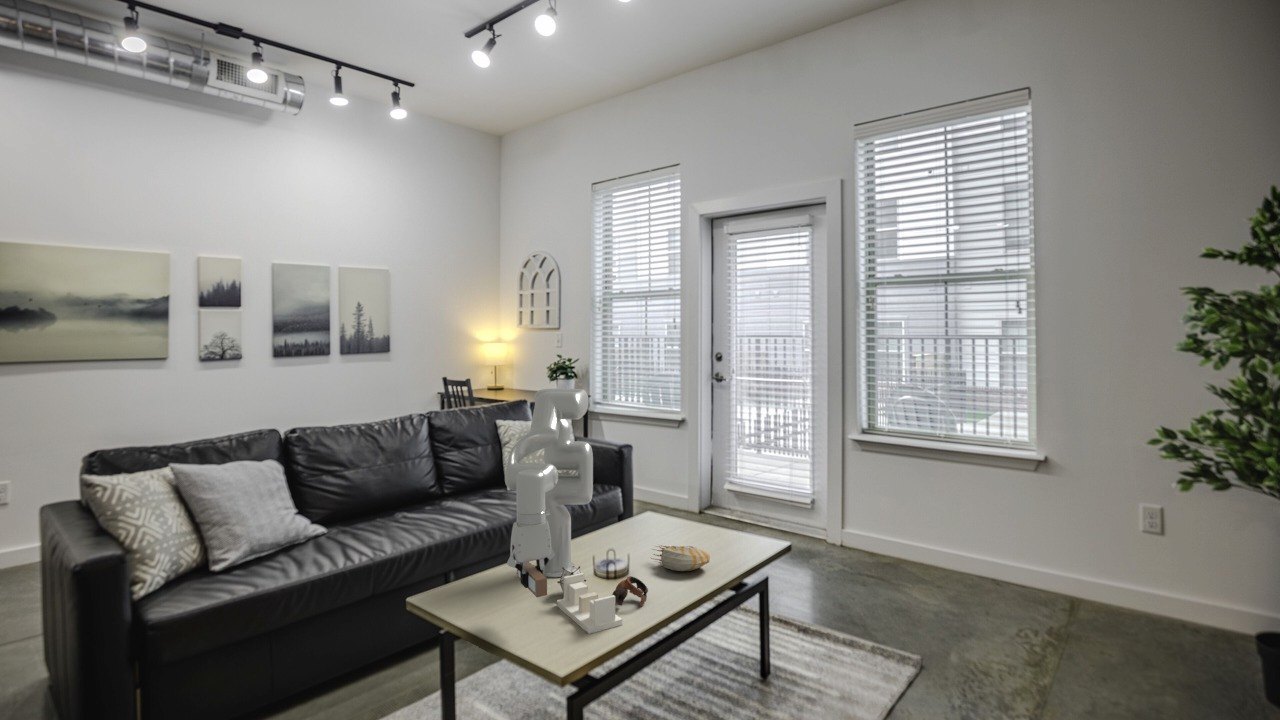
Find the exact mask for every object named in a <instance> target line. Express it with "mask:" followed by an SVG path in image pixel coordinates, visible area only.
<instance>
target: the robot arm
mask: <svg viewBox="0 0 1280 720" xmlns="http://www.w3.org/2000/svg"><path fill="white" fill-rule="evenodd" d="M588 408H589V395H588V392H587V391H586V390H585V389H583V388H543V389H539V390H537V391H536V392H535V394H534V408H533V415H532V418H531V423H530V427H529V428H530V430H529V432H527V433H526V434H525V435H524V436H522V437H521V438H520V439H519V440H518V441H517V442H516V443H515V444H514V445H513V447H511V450H510V451H509V454H508V457H507V458H508V459H507V463H506V467H505V472H504V482H505V486H506V488H508V489H509V490H511V491H516V494H515V496H516V521H514V523H513V525H512V528H511V536H510V547H509V548H510V549H509V552H510V554H509V558H508V560H507V563H506V565H507V566H509V567H511V568H514V569H516V570H517V569H518V570H519V571H520V580H519V581H520V584H521V585H522V586H523V587H524V588H525V589H528V587H529V583H528V575H529V574H528V573H527V562H533V561H535V563H536V566H534V567H535V568H536V569H537V570H539V571H540V572H541V573H542V574H543V575H544V576H545V577H546V578H547V577H548V578H561V576H562V573H563V569H562V567H564V569H577V566H576V564H575V563H573V562H572V518H571V514H570V512H569V511H568V510H569V509H568V508H567V507H566V505H576V506H577V505H580V506H582V505H587V504H589V503H591V501H592V499H593V492H594V491H593V490H594V484H593V483H594V456H593V455H594V453H593V449H592V445H590V443H588V442H587V441H580V440H579V441H577V440H576V441H572V439H571V424H570V422H569V420H581V418H583V417H584V416H585V415H586V413H587V412H588ZM541 450H543V452H544V453H543V459H544V460H543V461H544V463H543V462H542V463H541V462H538V463H537V462H522V461H523V460H524V459H525V458H526V457H527V456H529V455H530V454H533V453H536V452H537V451H541ZM558 471H571V472H572V471H573V472H574V471H576V472H577V473H578V474H559V472H558ZM518 563H519V564H518Z"/></svg>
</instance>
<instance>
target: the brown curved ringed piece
mask: <svg viewBox="0 0 1280 720" xmlns="http://www.w3.org/2000/svg"><path fill="white" fill-rule="evenodd" d="M633 584H636V586H635V585H633ZM648 592H649V588H648V587H647V585H646V583H644V582H643V581H641V580H640V579H639V578H637V577H635V576H626V579H623V580H621V581H619V583H618V584H617V585H616V588H615V589H614V590H613V592H612V595H614V596H615V606H616V605H618V606H621V607H622V606H623V604H624V601H625V599H626V597H627V596H628V593H630V594H632V595H634V596H636V597H638V598H640V602H639V604H638V605H639V607H643V606H644V605H645V602H646V601H647V599H648V598H647V597H648V596H647V594H648ZM612 595H611V596H612Z"/></svg>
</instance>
